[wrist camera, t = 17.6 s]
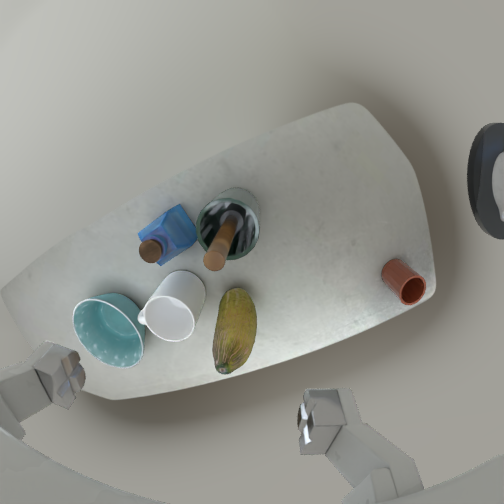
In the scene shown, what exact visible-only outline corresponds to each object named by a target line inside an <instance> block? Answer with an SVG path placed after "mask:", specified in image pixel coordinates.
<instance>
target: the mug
mask: <svg viewBox="0 0 504 504" xmlns="http://www.w3.org/2000/svg"><path fill="white" fill-rule="evenodd" d="M205 297H206V291H205V287H204V285H203V283H202V281H201V280H200V279H199V278H198V277H197V276H196V275H194V274H193V273H191V272H188V271H175V272H172V273H171V274H169V275H168V276H167V277H166V278H165V279H164V280H163V281H162V283H161V284H160V285H159V287H158V288H157V289H156V291H155V292H154V293H153V295H152V296H151V297H150V299H149V300H148V302H147V303H146V305H145V307H144V308H143V309H142V310H141V311H140V313H139V315H138V321H139V323H141V324H143V325H147V327H148V328H149V329H150V331H151V332H152V333H153V334H155V335H156V336H158V337H159V338H161V339H163V340H166V341H171V342H178V341H182V340H185V339H187V338H188V337H189V336H190V335H191V334H192V333H193V331H194V328H195V326H196V323H197V320H198V317H199V315H200V312H201V309H202V307H203V304H204V301H205Z"/></svg>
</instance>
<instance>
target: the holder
mask: <svg viewBox="0 0 504 504" xmlns="http://www.w3.org/2000/svg"><path fill="white" fill-rule="evenodd" d="M382 280H383V282H384V283H385V284H386V285H387V287H388V288H389V289H390V290H391V291H392V292H393V293H394V294H395V295H396V297H397V298H398V299H399V300H400V301H401V302H402V303H403V304H405V305H412V304H415V303H417V302H418V301H419V300H420V299H421V298H422V296H423V295H424V293H425V290H426V282H425V280H424V278H423V277H422V276H420V275H419V274H418V273H417V272H416V271H414V270H413V269H412V268H411V267H409V266H408V265H407V264H406V263H404V262H403V261H402V260H400V259H393V260H390V261H389V262H388V263H386V265H385V266H384V268H383V270H382Z"/></svg>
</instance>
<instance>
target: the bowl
mask: <svg viewBox="0 0 504 504" xmlns="http://www.w3.org/2000/svg"><path fill="white" fill-rule="evenodd" d="M139 313H140V309H139V308H138V307H137V305H136V304H135V303H134V302H133V301H131V300H130V299H129V298H127V297H125V296H123V295H121V294H117V293H108V294H103V295H99V296H95V297H91V298H88V299H85V300H83V301H81V302H79V303H78V304H77V306H76V307H75V309H74V311H73V317H72V320H73V327H74V330H75V333H76V335H77V337H78V339H79V341H80V342H81V344H82V345H83V346H84V347H85V349H86V350H87V351H88V352H89V353H90V354H91V355H93V356H94V357H95V358H96V359H98V360H99V361H101V362H103V363H105V364H107V365H109V366H112V367H116V368H130V367H133V366H135V365H137V364H138V363H139V362H140V361H141V359H142V357H143V353H144V340H145V325H143V324H141V323H139V321H138V315H139Z"/></svg>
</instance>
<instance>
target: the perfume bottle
mask: <svg viewBox="0 0 504 504" xmlns="http://www.w3.org/2000/svg"><path fill="white" fill-rule="evenodd" d="M138 235H139V238H140V240H141V242H142V243H141V245H140V247H139V253H140V256H141V258H142V259H143V260H144V261H146V262H148V263H155V262H156V263H158V264H159V265H160V266H162V265H163V264H165V263H166V262H168V261H169V260H171V259H172V258H174V257H175V256H177V255H178V254H180V253H181V252H183V251H184V250H186V249H187V248H189V247H190V246H192V245H193V243H194V242H195V241H196V240H197V234H196V227H195V226H194V225H193V223H192V222H191V220H190V219H189V217H188V216H187V214H186V213H185V211H184V210H183V208H182V207H181V205H180V204H179V205H177V206H175V207H173V208H172V209H170V210H168V211H167V212H165V213H164V214H163V215H161V216H160V217H159V218H157V219H156V220H154V221H153V222H152V223H151V224H149V225H148V226H147V227H145V228H144V229H143V230H141V231H140V232H139V233H138Z"/></svg>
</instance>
